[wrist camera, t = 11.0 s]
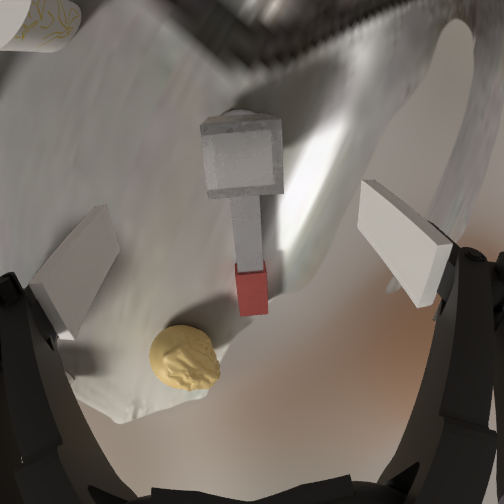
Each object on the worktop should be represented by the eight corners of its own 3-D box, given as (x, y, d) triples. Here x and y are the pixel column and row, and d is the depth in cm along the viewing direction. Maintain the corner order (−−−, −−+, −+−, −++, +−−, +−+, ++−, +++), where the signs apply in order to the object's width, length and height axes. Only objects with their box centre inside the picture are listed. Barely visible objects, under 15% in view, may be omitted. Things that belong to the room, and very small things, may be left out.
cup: (73, 50, 24) (19, 43, 14) (31, 55, 22) (-24, 57, 12) (88, -2, 20) (41, -24, 10) (44, 6, 18) (-6, -5, 8)
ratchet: (204, 112, 31) (196, 116, 24) (270, 107, 31) (281, 110, 24) (228, 304, 47) (229, 341, 40) (277, 300, 47) (284, 336, 40)
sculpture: (229, 343, 52) (230, 390, 43) (182, 362, 55) (177, 407, 45) (190, 306, 47) (183, 356, 37) (142, 331, 49) (130, 377, 40)
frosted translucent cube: (208, 117, 29) (200, 125, 21) (268, 112, 29) (281, 119, 21) (214, 172, 32) (208, 199, 25) (270, 168, 32) (283, 193, 25)
